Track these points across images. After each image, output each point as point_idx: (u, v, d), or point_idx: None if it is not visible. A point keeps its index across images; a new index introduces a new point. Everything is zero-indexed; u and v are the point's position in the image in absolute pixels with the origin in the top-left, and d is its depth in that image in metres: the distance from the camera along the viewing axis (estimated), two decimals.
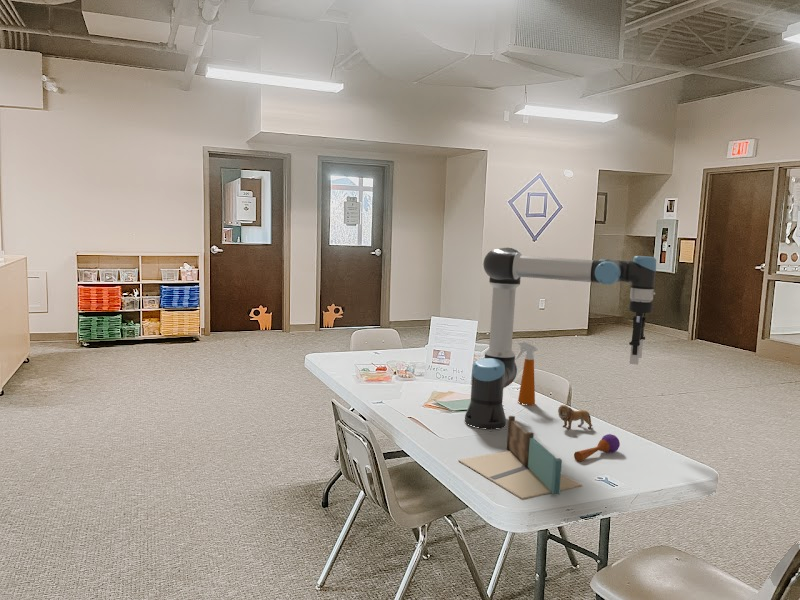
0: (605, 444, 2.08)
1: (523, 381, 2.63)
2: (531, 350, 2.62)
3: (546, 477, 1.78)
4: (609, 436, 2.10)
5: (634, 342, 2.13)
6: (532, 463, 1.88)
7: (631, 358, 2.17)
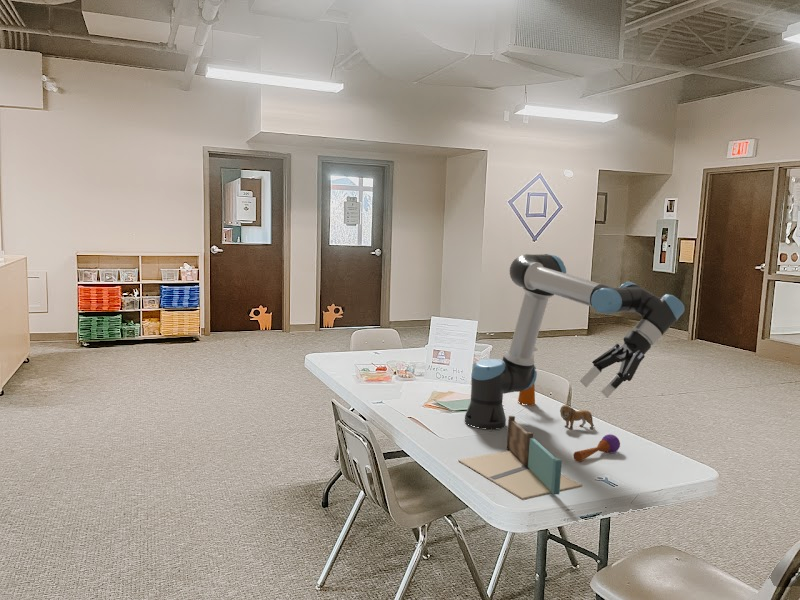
0: (605, 444, 2.07)
1: None
2: None
3: (546, 477, 1.78)
4: (609, 436, 2.10)
5: (627, 376, 1.80)
6: (532, 463, 1.88)
7: (606, 387, 1.82)
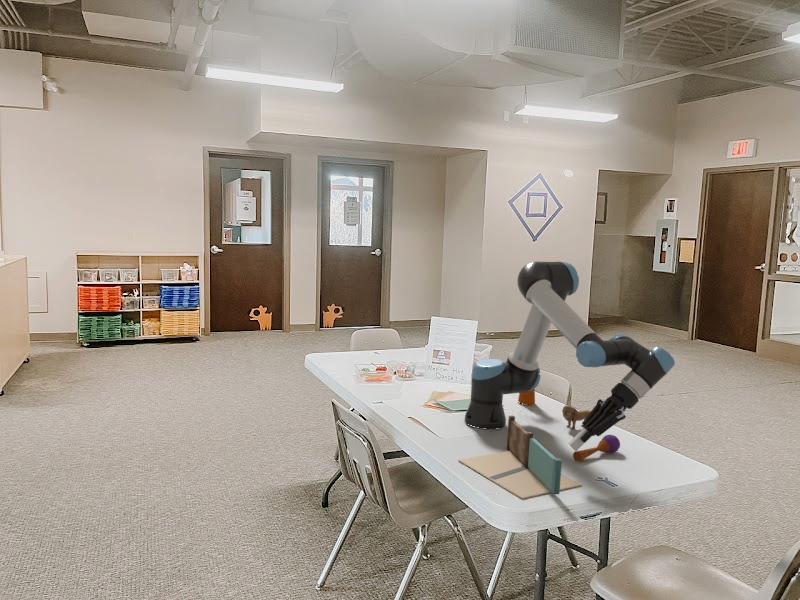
0: (605, 444, 2.07)
1: None
2: None
3: (546, 477, 1.78)
4: (609, 436, 2.10)
5: (596, 431, 1.81)
6: (532, 463, 1.88)
7: (575, 441, 1.83)
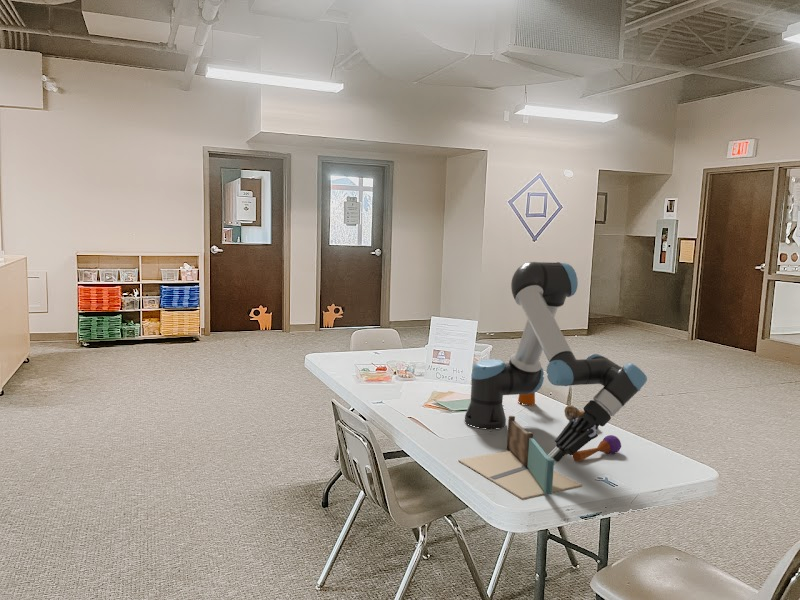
0: (605, 445, 2.07)
1: None
2: None
3: (540, 477, 1.78)
4: (610, 437, 2.09)
5: (569, 451, 1.79)
6: (530, 463, 1.88)
7: None
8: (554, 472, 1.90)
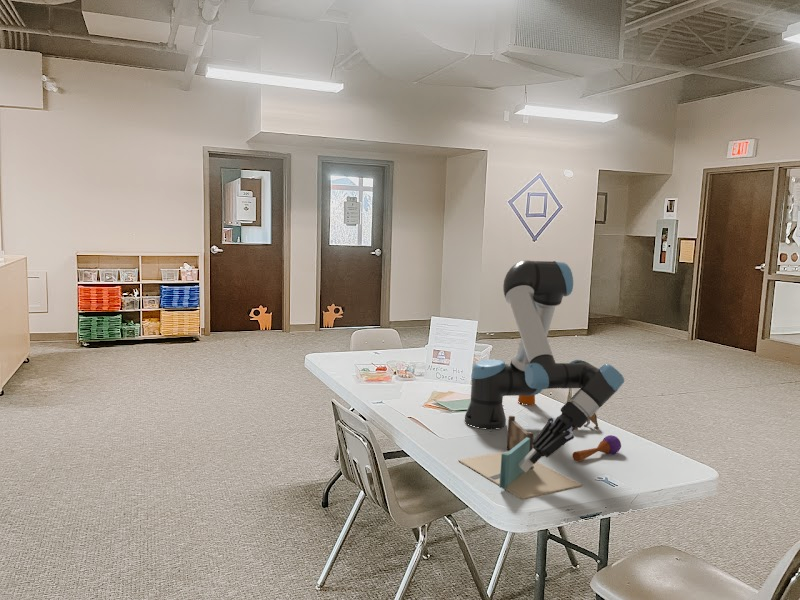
0: (605, 445, 2.07)
1: None
2: None
3: None
4: (610, 437, 2.09)
5: (545, 452, 1.78)
6: None
7: (525, 462, 1.80)
8: (554, 472, 1.90)
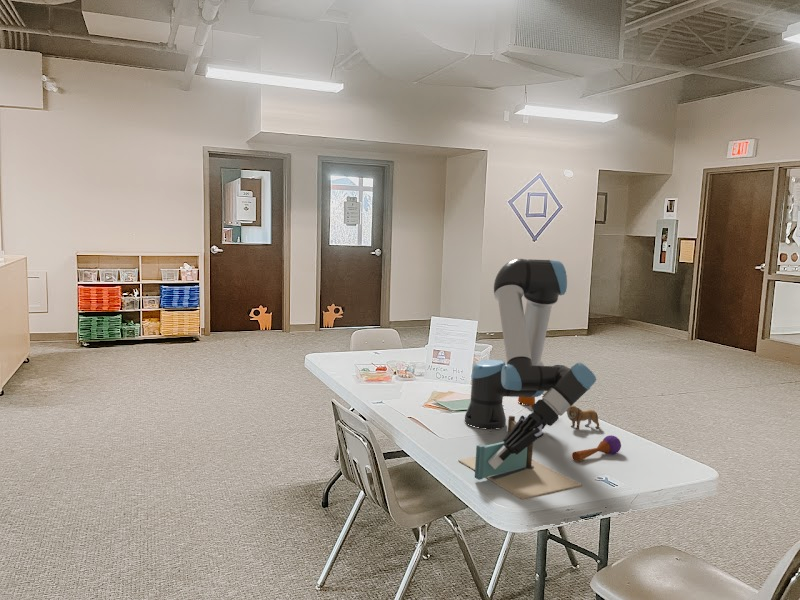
0: (605, 445, 2.07)
1: None
2: None
3: None
4: (610, 437, 2.09)
5: (515, 449, 1.78)
6: None
7: (494, 459, 1.80)
8: (554, 472, 1.90)
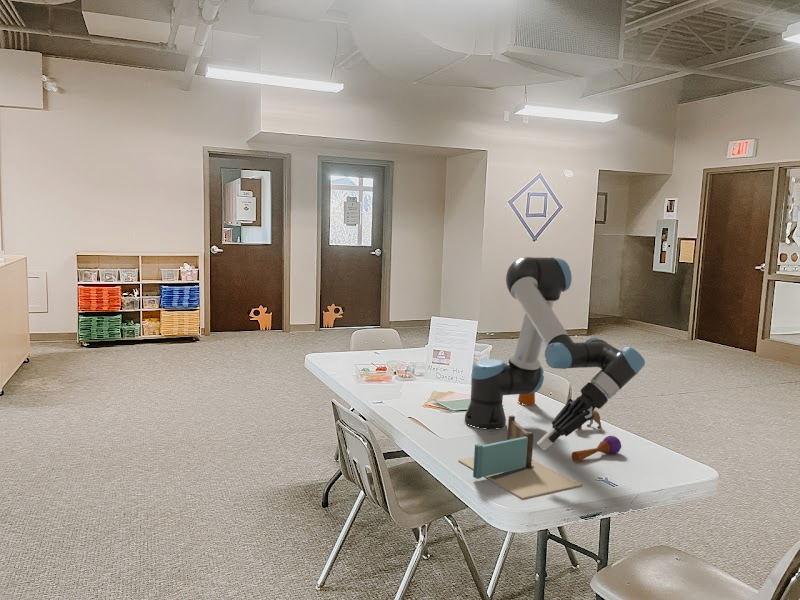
0: (605, 445, 2.06)
1: None
2: None
3: None
4: (610, 437, 2.08)
5: (564, 431, 1.80)
6: None
7: (544, 441, 1.82)
8: (554, 472, 1.90)
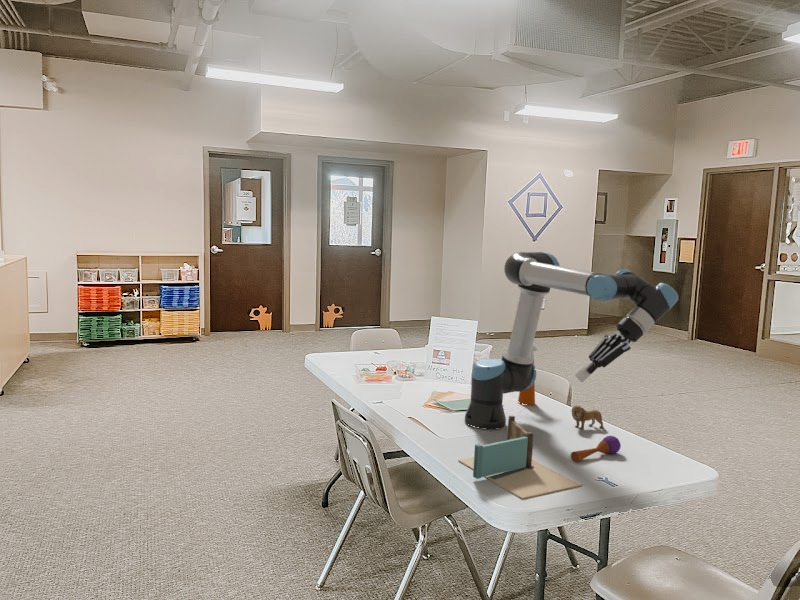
0: (604, 445, 2.06)
1: None
2: None
3: None
4: (609, 437, 2.08)
5: (602, 362, 1.88)
6: None
7: (582, 373, 1.91)
8: (554, 472, 1.90)
